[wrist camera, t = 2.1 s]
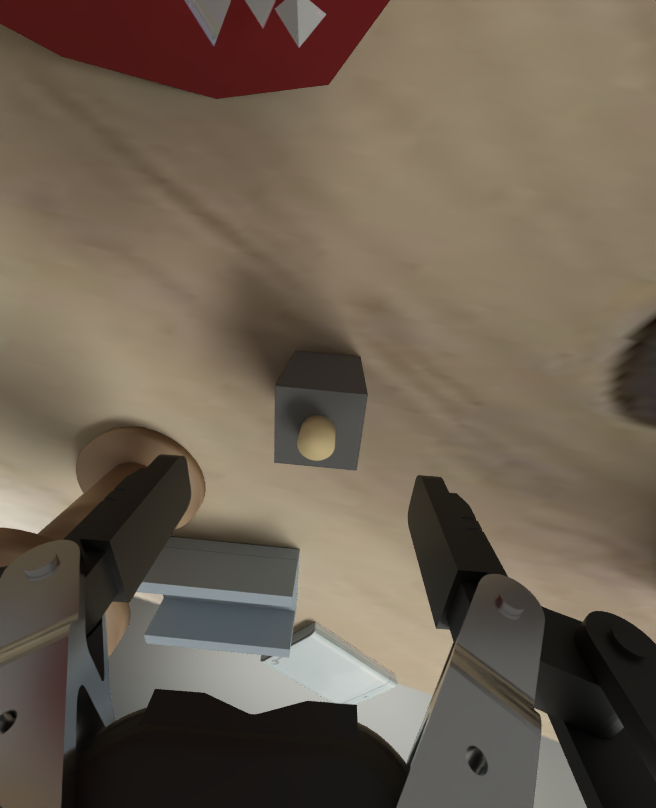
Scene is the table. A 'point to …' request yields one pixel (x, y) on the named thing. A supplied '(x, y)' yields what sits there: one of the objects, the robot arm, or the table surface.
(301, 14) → the red toy figure
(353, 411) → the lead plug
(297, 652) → the hard drive
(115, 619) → the bobbin
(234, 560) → the blue-gray u-shaped channel
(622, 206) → the table surface
